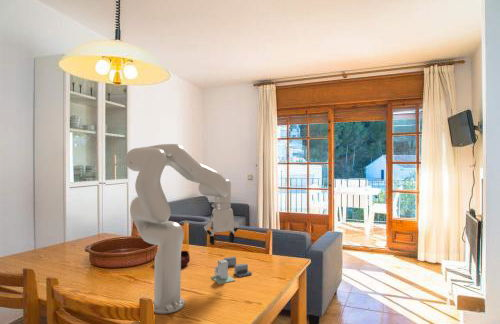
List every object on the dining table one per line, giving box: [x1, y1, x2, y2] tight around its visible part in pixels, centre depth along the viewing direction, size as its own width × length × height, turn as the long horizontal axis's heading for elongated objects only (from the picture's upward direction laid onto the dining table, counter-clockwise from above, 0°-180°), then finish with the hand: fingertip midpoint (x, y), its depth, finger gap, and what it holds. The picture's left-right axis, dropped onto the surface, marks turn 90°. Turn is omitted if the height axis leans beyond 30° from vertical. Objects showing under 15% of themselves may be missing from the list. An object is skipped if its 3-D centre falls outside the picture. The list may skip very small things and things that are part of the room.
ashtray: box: [181, 250, 191, 268], centre depth 162 cm, size 18×16×5 cm
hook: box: [214, 259, 229, 280], centre depth 141 cm, size 8×4×8 cm, turn 29°
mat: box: [210, 274, 236, 285], centre depth 140 cm, size 9×8×1 cm
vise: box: [223, 256, 253, 278], centre depth 153 cm, size 21×7×4 cm, turn 29°
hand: (221, 243), depth 140 cm, fingers open, 9 cm apart
